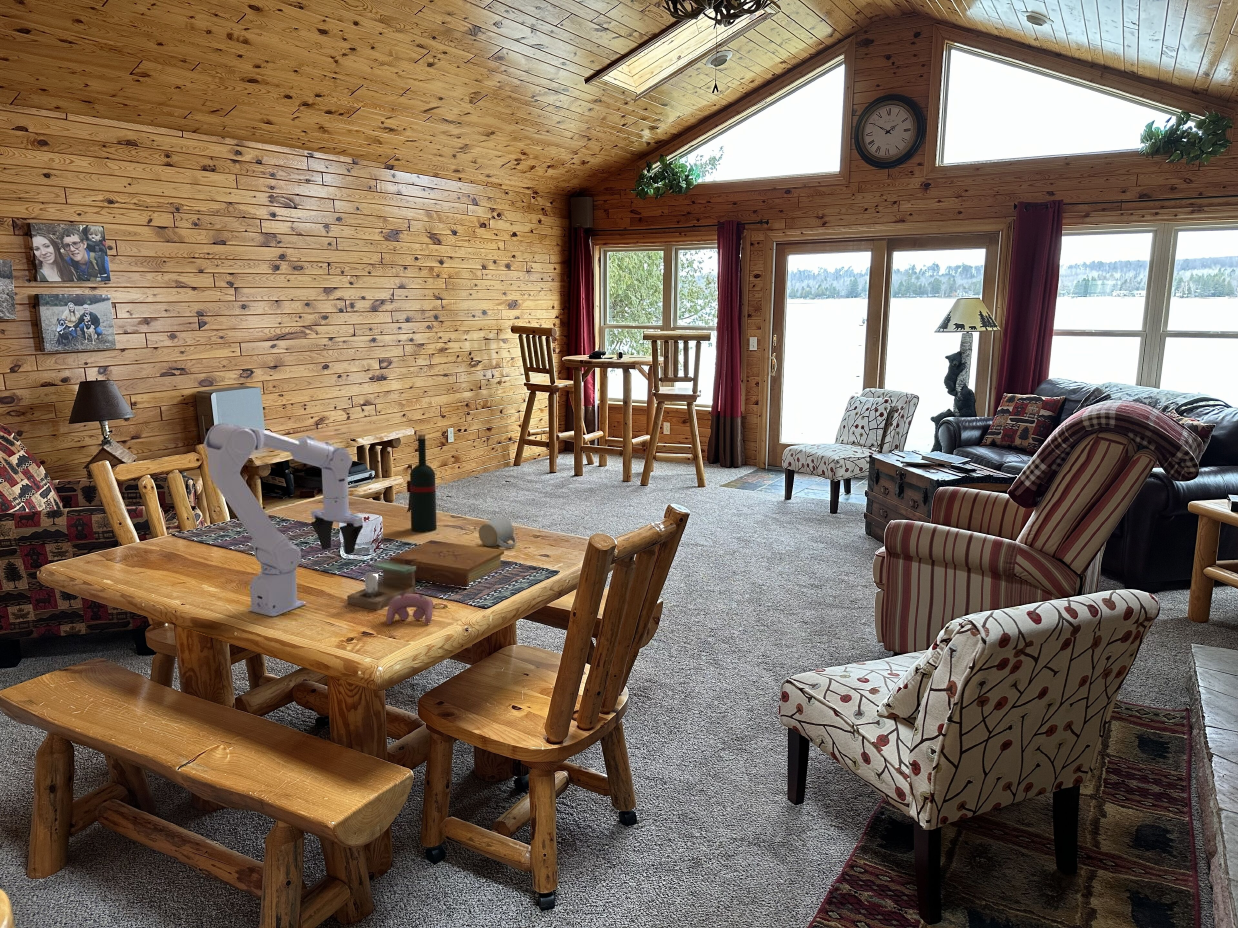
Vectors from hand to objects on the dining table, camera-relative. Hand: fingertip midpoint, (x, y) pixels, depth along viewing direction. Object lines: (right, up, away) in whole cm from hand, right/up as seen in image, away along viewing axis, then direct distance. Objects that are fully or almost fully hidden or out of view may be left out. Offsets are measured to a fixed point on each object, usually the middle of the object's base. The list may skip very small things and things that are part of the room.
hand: (337, 551), depth 196 cm
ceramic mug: (+33, -3, +44) cm, 55 cm away
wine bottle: (+6, 0, +60) cm, 60 cm away
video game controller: (+22, -14, -17) cm, 31 cm away
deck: (+12, -11, -3) cm, 16 cm away
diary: (+23, -8, +17) cm, 30 cm away
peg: (+10, -11, -6) cm, 17 cm away
